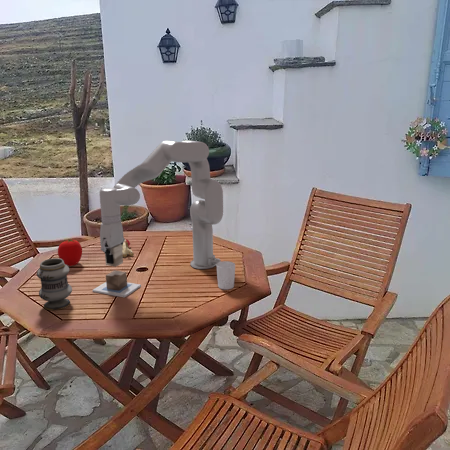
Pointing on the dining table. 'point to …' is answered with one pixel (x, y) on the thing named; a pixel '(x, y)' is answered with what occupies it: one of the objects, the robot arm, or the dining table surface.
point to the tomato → (70, 252)
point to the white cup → (225, 274)
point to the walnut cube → (116, 280)
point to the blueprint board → (121, 293)
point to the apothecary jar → (54, 283)
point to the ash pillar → (116, 255)
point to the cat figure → (126, 248)
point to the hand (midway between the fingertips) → (114, 260)
